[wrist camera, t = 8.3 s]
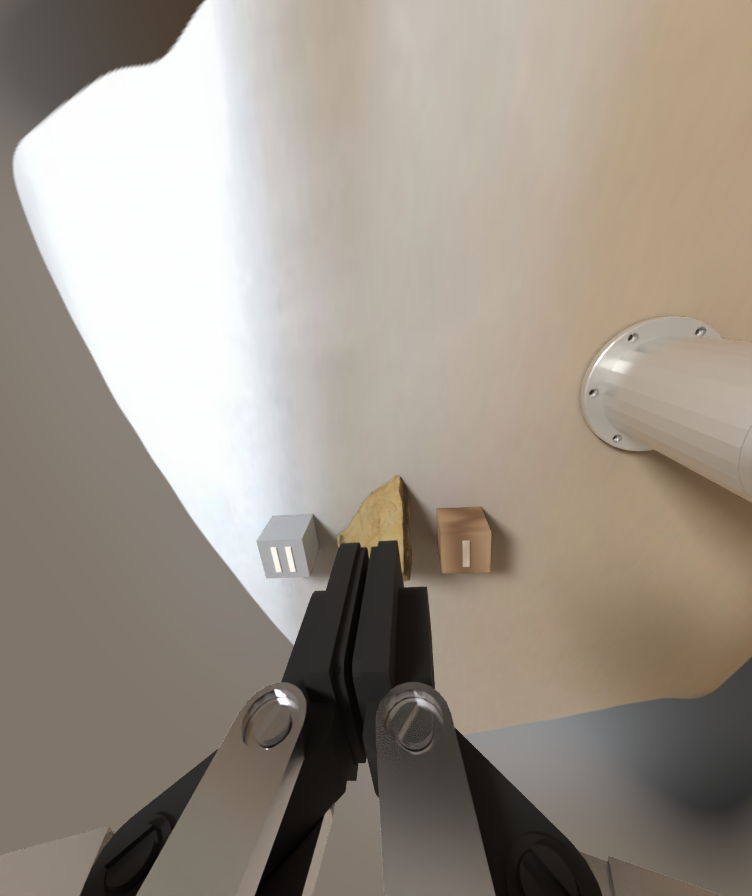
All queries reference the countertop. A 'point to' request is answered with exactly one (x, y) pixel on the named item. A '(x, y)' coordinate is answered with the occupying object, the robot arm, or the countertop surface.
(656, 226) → the countertop surface
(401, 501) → the rock
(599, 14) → the countertop surface
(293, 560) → the grey block
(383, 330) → the countertop surface
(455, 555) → the walnut block
